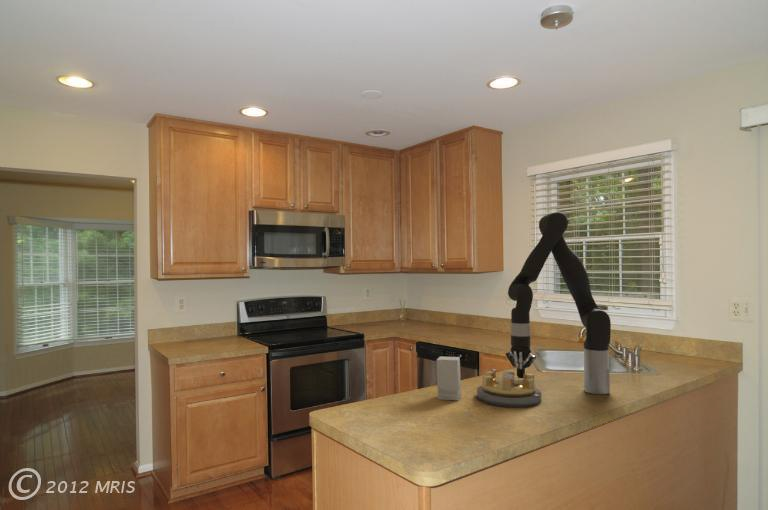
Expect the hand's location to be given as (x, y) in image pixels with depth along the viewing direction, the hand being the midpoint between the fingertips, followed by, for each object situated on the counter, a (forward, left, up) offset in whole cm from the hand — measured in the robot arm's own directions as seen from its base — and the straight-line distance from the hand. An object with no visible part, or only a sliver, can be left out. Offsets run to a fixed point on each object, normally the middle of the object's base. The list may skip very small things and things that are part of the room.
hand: (520, 377), depth 198 cm
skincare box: (+26, +13, -7) cm, 30 cm away
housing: (+4, +7, -6) cm, 11 cm away
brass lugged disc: (+4, +7, -3) cm, 9 cm away
